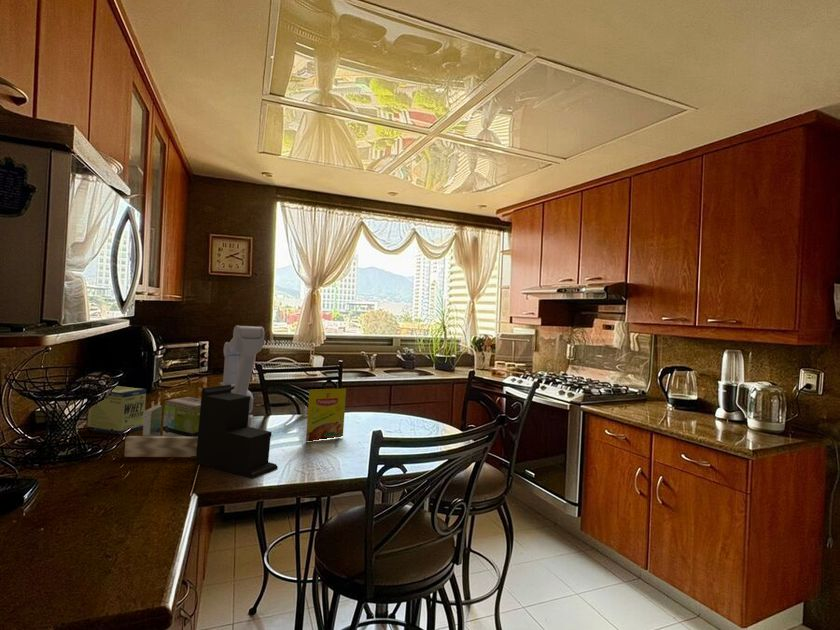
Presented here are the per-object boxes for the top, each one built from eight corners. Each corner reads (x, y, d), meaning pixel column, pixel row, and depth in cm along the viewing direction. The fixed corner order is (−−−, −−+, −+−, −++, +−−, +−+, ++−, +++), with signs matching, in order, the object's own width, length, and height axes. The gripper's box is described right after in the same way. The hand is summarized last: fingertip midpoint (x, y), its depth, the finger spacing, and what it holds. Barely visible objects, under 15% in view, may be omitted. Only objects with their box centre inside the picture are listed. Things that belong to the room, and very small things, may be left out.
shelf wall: (214, 455, 143) (216, 436, 143) (213, 457, 141) (214, 438, 141) (127, 454, 138) (128, 435, 138) (124, 456, 136) (125, 437, 136)
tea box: (160, 441, 154) (163, 399, 155) (185, 435, 164) (188, 396, 164) (190, 448, 149) (194, 405, 149) (215, 441, 158) (218, 401, 158)
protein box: (120, 435, 158) (124, 392, 159) (85, 430, 162) (89, 388, 162) (144, 429, 169) (147, 388, 169) (110, 424, 172) (114, 385, 172)
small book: (159, 446, 148) (162, 405, 148) (148, 454, 139) (151, 411, 139) (152, 446, 148) (155, 405, 148) (141, 454, 139) (144, 410, 139)
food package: (306, 443, 163) (310, 389, 164) (305, 442, 164) (308, 389, 165) (343, 439, 172) (346, 388, 173) (342, 438, 173) (345, 388, 174)
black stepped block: (278, 469, 134) (283, 392, 135) (251, 479, 124) (257, 397, 125) (223, 455, 144) (228, 384, 144) (194, 464, 134) (200, 387, 134)
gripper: (225, 369, 183) (223, 401, 183) (216, 373, 169) (213, 408, 169) (243, 370, 185) (240, 402, 184) (235, 374, 170) (232, 409, 170)
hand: (229, 405), depth 177 cm, fingers closed
